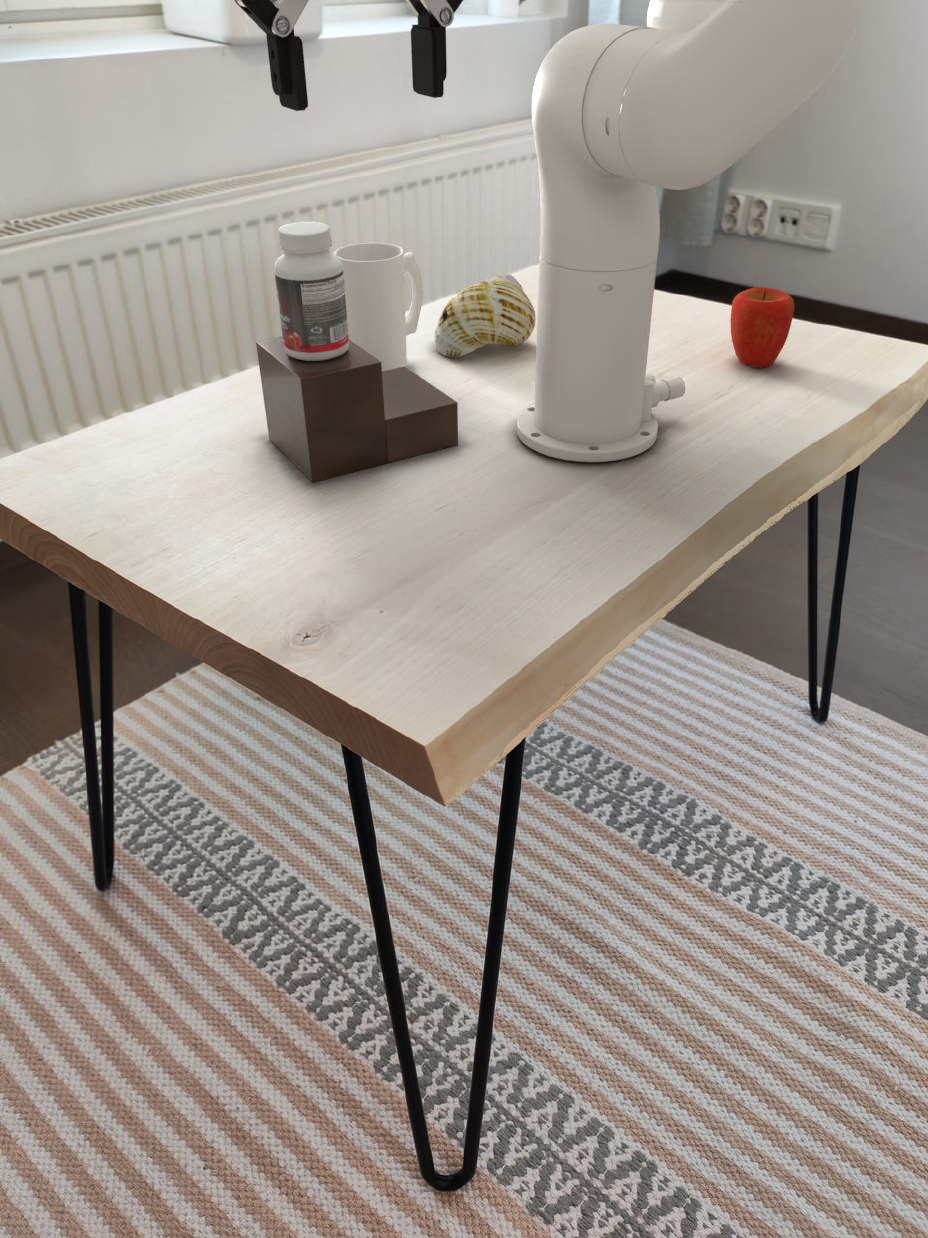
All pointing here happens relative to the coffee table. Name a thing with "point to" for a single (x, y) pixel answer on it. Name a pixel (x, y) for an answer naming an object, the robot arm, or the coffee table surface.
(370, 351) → the mug
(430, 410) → the step shelf
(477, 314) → the seashell
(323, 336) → the pill bottle
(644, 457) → the coffee table surface
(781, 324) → the apple
